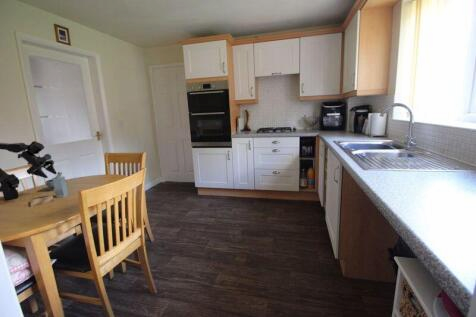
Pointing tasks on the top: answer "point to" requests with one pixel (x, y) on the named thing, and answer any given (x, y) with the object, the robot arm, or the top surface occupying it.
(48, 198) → the walnut pad
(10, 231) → the top surface
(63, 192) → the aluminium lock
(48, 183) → the mortar and pestle
